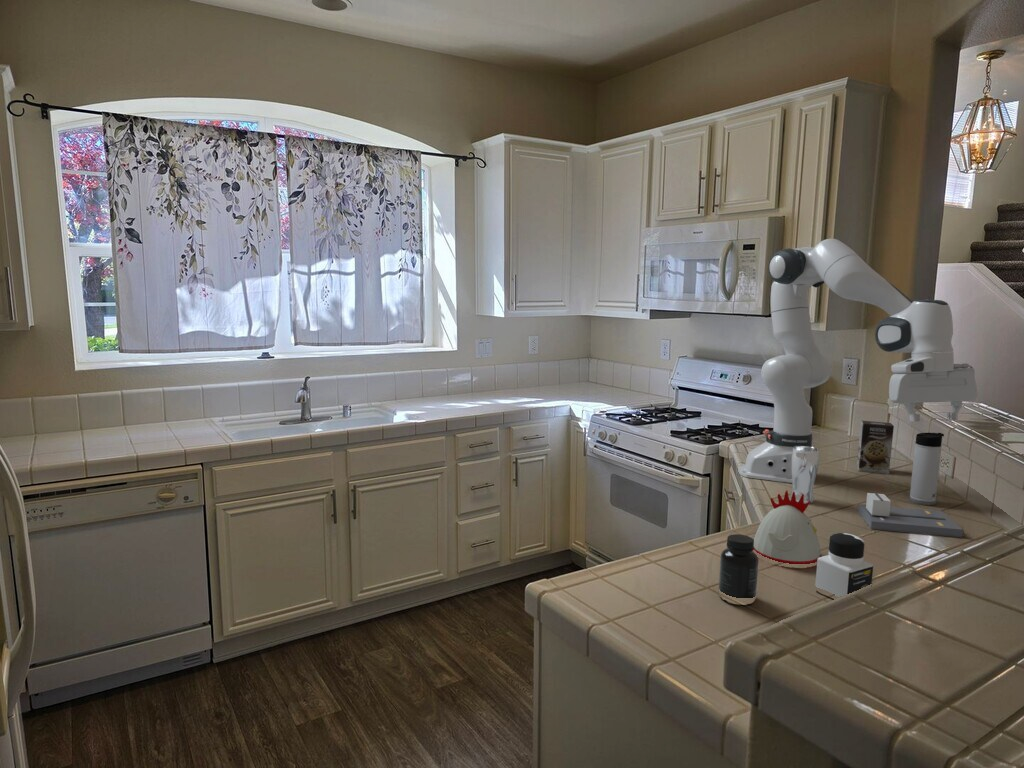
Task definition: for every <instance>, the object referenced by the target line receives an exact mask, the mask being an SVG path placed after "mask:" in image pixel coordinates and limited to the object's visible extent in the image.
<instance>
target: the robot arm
mask: <svg viewBox="0 0 1024 768" xmlns="http://www.w3.org/2000/svg"><path fill="white" fill-rule="evenodd" d="M768 274H769V276H770V278H771V280H772V281H773V282H772V284H771V286H770V287H771V288H770V300H769V301H770V312H771V313H770V315H771V324H772V332H773V333H772V335H773V337H774V339H775V340H776V341H777V342H779V344H780V345H781V347H782V348H783V351H784V353H785V354H781V355H777V356H773V357H772V358H769V359H767V360H765V362H764V363H763V364H762V366H761V370H760V376H761V379H762V382H763V384H764V386H766V387H767V388H768V389H769V391H770V394H771V397H772V401H773V409H774V410H773V411H774V412H773V413H774V414H773V429H772V430H769V429H767V428H766V429H764V430H763V434H764V436H765V442H762V443H761V444H759V445H758V446H756V447H755V448H753V449H751V450H750V451H749V452H748V454H747V456H746V460H745V463H742V464H740V465H739V466H738V469H737V471H738V473H739V475H741V476H743V477H745V478H749V479H750V478H751V479H758V480H767V481H773V482H780V483H781V482H782V483H788V484H790V483H791V484H793V480H792V472H791V460H792V453H793V447H794V446H809V447H813V434H812V424H813V408H812V406H810V404H808V403H807V399H806V396H805V389H813V388H816V387H818V386H821V385H822V384H824V383H826V382H827V381H828V380H829V379H830V377H831V374H832V366H831V363H830V361H829V360H828V359H827V358H826V357H825V356H824V355H823V354H822V353H821V351H820V349H819V347H818V345H817V343H816V340H815V337H814V334H813V330H812V324H811V323H812V322H811V316H810V315H811V314H810V306H809V299H808V292H809V289H810V288H811V287H813V288H819V287H821V286H822V285H824V284H825V285H826V286H827V287H828V288H829V289H830V291H832V292H833V293H834V294H836V295H837V296H839V297H841V298H842V299H844V300H849V301H854V302H855V301H856V302H861V303H865V304H870V305H873V306H876V307H877V308H880V309H882V310H883V311H884V312H885V313H887V314H888V316H887V317H883V318H882V319H881V320H880V321H879V322H878V324H877V325H876V327H875V330H874V337H875V338H874V339H875V342H876V344H877V347H879V348H880V349H881V350H882V351H883V352H888V353H894V354H895V353H902V354H903V353H904V354H908V353H909V354H910V353H911V355H910V356H911V357H910V358H907V359H905V360H902V361H899V362H896V363H894V364H891V367H890V369H891V370H890V371H891V372H892V373H893V374H892V375H891V377H890V378H889V385H888V397H889V400H890V402H891V403H892V404H904V409H906V411H907V413H908V415H909V421H910V422H914V423H915V422H920V420H921V418H920V417H921V414H920V413H917V412H916V410H915V409H914V408H916V404H918V403H919V404H921V403H923V404H924V403H945V402H946V403H948V402H950V405H951V406H952V408H951V410H950V412H946V416H947V417H946V418H947V420H948V421H957V420H958V419H959V416H958V414H959V412H960V410H961V409H962V407H963V402H970V401H971V402H973V401H976V399H977V398H978V388H977V386H978V385H977V382H976V378H975V377H976V375H975V374H976V372H975V368H974V367H973V366H972V365H971V364H970V365H969V363H955V362H954V360H955V359H954V355H955V354H954V353H955V352H954V348H953V346H952V339H953V336H954V329H953V328H954V327H953V326H954V323H953V315H952V314H953V313H952V310H951V306H950V305H949V303H948V302H947V301H945V300H940V299H924V298H923V299H916V300H914V301H912V299H910V298H909V297H908V296H907V295H906V294H905V293H903V292H902V291H901V290H900V289H899V288H897V286H895V285H894V284H893V283H891V282H890V281H888V280H887V279H885V278H884V277H883V276H882V275H880V274H879V273H878V272H877V271H875V270H874V268H872V267H871V266H870V265H869V264H867V263H866V262H865V261H864V259H862V257H860V256H859V254H857V253H856V252H855V251H854V250H853V249H852V248H851V247H849V246H848V245H847V244H845V243H844V242H842V241H840V240H839V239H838V238H827V239H823V240H821V241H820V242H818V243H817V244H816V245H815V246H811V247H810V246H803V247H795V248H784V249H780V250H778V251H776V252H774V253H773V254H772V255H771V258H769V262H768Z"/></svg>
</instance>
